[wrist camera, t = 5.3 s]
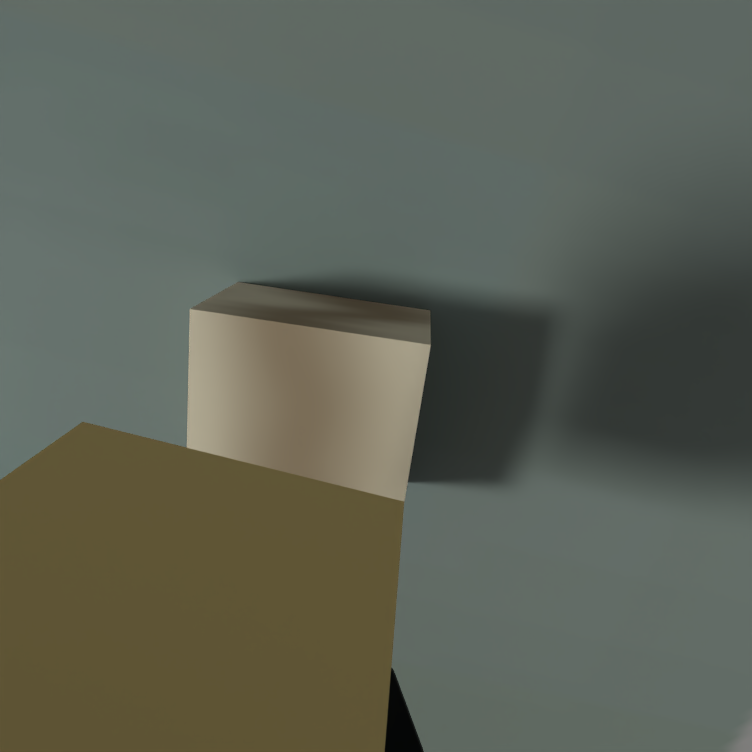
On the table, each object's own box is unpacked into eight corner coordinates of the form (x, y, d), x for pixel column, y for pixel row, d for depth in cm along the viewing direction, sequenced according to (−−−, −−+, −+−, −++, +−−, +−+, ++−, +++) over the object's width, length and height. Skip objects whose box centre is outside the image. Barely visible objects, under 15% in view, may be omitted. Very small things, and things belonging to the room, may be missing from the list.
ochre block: (404, 501, 9) (373, 884, 4) (337, 736, 10) (260, 1202, 6) (83, 421, 9) (-325, 708, 4) (68, 668, 10) (-231, 1074, 6)
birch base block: (430, 309, 18) (430, 345, 14) (402, 478, 20) (395, 550, 16) (239, 281, 18) (189, 309, 14) (231, 452, 20) (185, 516, 16)
